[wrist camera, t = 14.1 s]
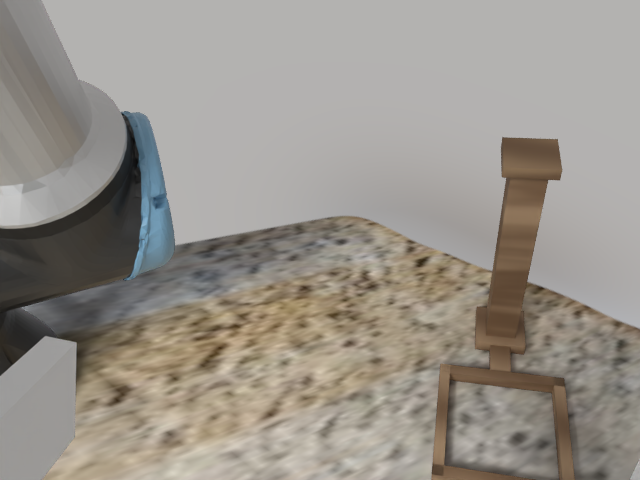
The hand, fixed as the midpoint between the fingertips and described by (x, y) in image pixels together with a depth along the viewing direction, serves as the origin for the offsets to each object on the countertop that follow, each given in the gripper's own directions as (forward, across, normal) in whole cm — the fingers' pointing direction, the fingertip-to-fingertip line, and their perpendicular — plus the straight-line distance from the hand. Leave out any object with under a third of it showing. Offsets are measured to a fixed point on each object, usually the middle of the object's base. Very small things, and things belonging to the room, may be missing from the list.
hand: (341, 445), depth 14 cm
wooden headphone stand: (+30, +13, -16) cm, 37 cm away
